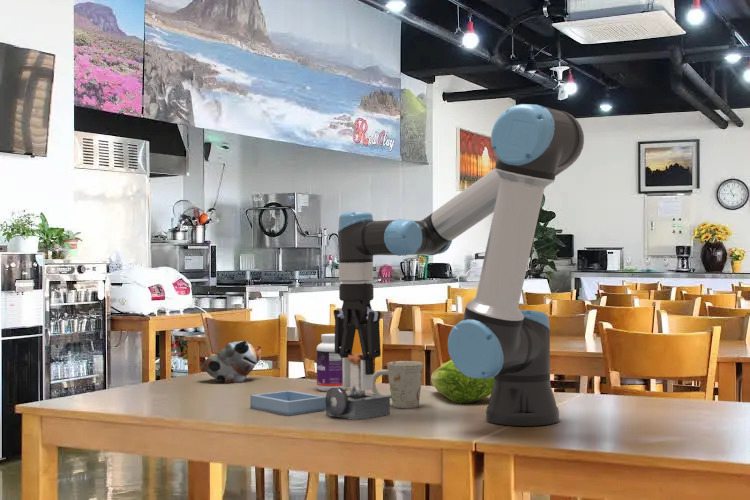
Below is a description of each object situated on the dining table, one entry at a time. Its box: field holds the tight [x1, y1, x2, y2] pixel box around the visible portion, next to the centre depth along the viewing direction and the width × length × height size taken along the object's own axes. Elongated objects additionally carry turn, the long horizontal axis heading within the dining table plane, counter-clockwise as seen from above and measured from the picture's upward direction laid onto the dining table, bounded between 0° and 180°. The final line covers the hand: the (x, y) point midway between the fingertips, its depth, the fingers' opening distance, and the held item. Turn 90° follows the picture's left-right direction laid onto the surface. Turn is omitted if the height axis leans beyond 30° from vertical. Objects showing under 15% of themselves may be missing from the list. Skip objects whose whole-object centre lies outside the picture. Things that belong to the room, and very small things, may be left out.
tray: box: [249, 390, 326, 417], centre depth 226 cm, size 15×11×3 cm
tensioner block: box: [325, 387, 391, 421], centre depth 217 cm, size 10×12×6 cm
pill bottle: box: [315, 333, 348, 392], centre depth 257 cm, size 8×8×14 cm
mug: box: [370, 360, 424, 409], centre depth 229 cm, size 8×13×10 cm, turn 78°
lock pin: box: [348, 353, 366, 399], centre depth 217 cm, size 4×4×13 cm
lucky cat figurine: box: [200, 340, 262, 384], centre depth 278 cm, size 15×12×14 cm
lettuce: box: [430, 359, 494, 404], centre depth 240 cm, size 12×24×13 cm
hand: (357, 387), depth 217 cm, fingers open, 6 cm apart
